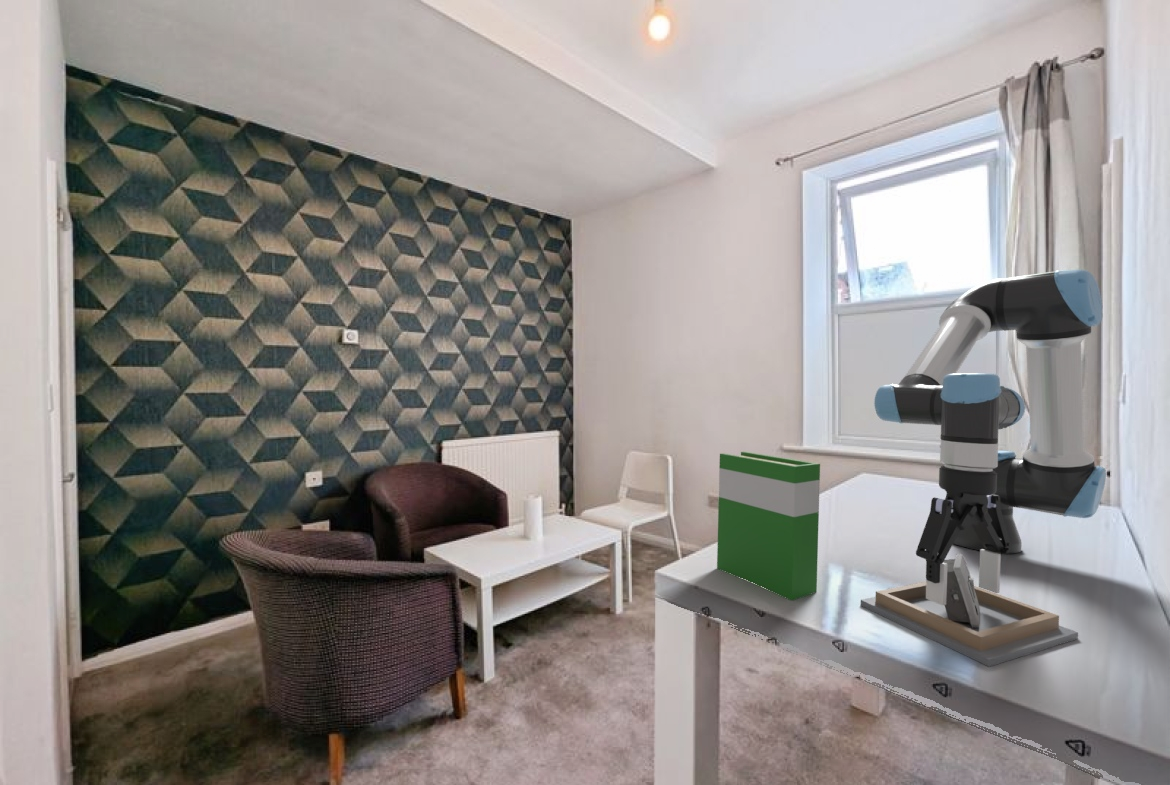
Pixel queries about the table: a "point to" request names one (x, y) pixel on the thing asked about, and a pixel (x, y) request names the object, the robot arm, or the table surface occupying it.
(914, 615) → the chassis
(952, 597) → the electrical switch
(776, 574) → the green open box
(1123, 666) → the table surface
